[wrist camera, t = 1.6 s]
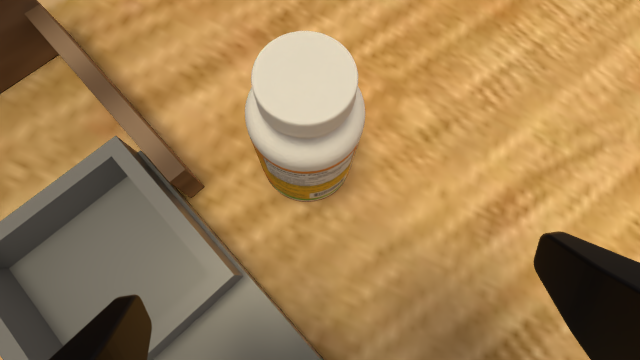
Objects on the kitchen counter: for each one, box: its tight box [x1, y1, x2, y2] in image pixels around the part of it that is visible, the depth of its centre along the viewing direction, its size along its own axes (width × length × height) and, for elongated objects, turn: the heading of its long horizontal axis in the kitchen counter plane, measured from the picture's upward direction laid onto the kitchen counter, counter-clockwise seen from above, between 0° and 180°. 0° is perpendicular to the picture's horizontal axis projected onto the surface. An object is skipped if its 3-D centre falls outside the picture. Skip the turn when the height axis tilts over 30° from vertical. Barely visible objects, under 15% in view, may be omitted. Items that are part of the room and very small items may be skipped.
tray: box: [0, 136, 323, 360], centre depth 18 cm, size 17×10×4 cm, turn 43°
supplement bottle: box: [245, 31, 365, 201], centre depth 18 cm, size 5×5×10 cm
